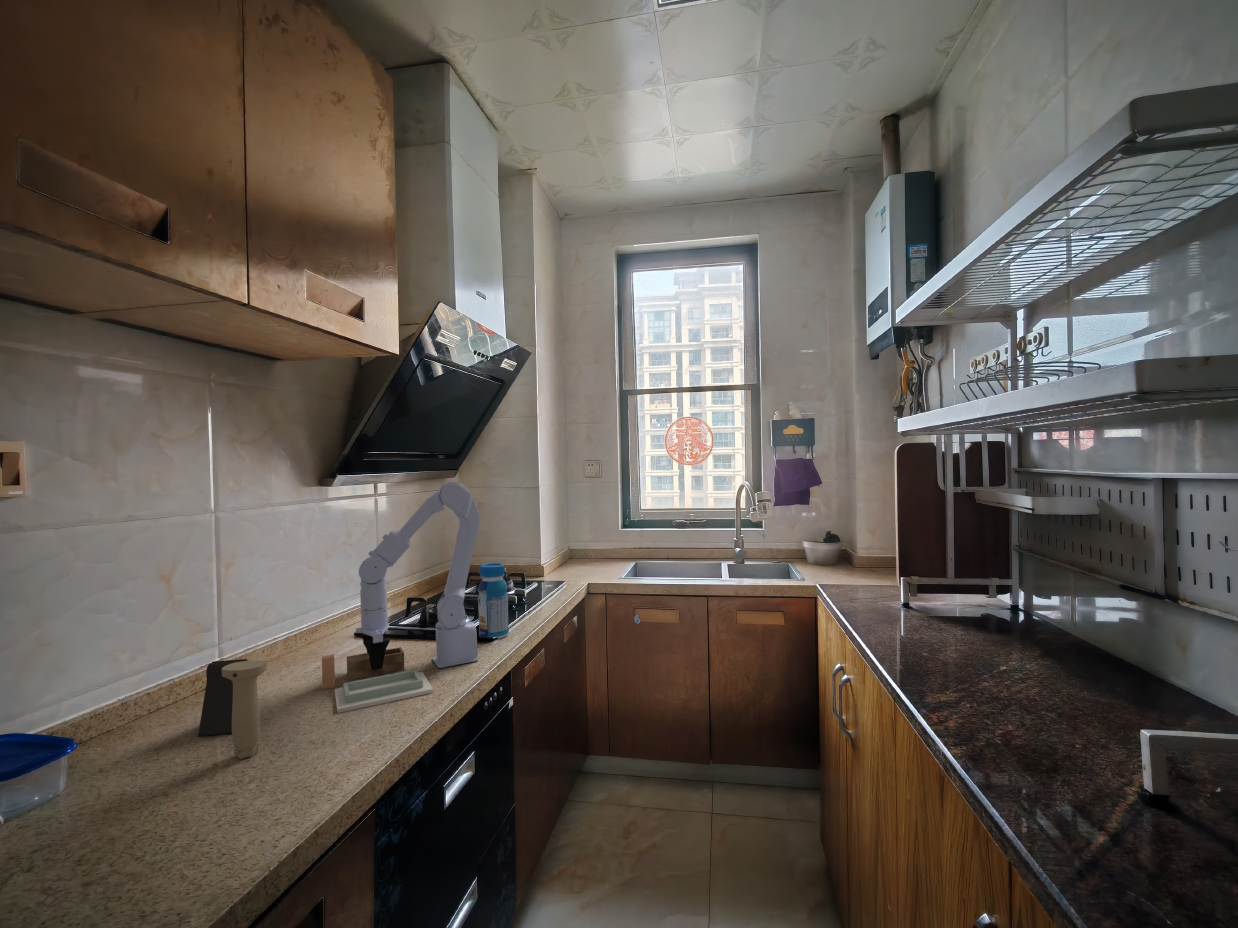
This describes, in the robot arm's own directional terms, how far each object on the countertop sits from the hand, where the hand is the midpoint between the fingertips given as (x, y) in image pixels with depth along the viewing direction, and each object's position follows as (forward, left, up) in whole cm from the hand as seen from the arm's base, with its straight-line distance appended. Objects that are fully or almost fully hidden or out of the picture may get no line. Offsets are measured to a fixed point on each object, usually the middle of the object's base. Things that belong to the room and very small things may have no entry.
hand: (375, 665), depth 132 cm
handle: (+23, +31, -2) cm, 39 cm away
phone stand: (+27, +15, -2) cm, 31 cm away
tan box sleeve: (0, 0, -1) cm, 1 cm away
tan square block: (+10, +4, -1) cm, 11 cm away
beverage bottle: (-32, -12, -2) cm, 34 cm away
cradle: (0, +15, -1) cm, 15 cm away
